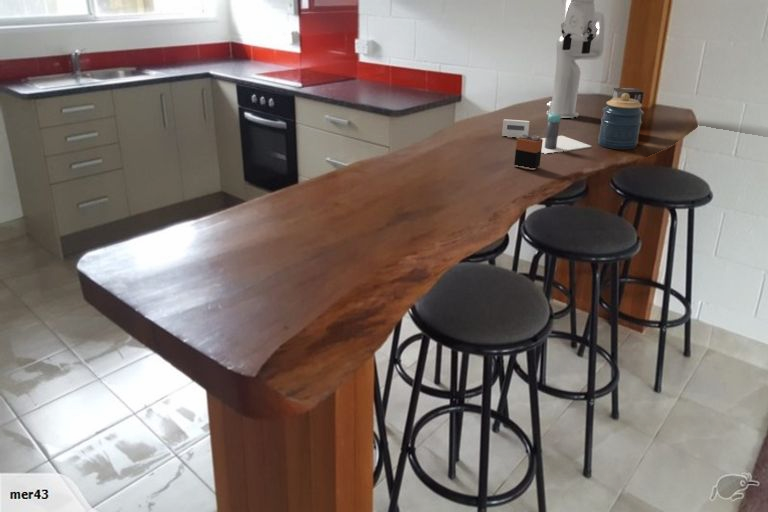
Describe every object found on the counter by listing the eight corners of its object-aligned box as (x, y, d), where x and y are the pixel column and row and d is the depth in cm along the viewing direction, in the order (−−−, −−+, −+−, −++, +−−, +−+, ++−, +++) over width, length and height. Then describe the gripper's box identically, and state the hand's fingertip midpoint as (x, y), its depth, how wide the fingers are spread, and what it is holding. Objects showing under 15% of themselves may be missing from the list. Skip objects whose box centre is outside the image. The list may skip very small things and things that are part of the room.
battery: (534, 171, 184) (538, 139, 180) (513, 167, 188) (516, 135, 183) (539, 167, 188) (543, 135, 183) (519, 163, 191) (522, 132, 187)
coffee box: (631, 132, 226) (639, 87, 219) (636, 137, 220) (644, 91, 213) (606, 131, 227) (613, 87, 220) (610, 136, 221) (618, 90, 214)
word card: (502, 135, 221) (503, 119, 218) (527, 137, 218) (529, 121, 216) (501, 136, 220) (503, 120, 217) (527, 138, 217) (529, 121, 215)
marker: (541, 146, 207) (545, 114, 202) (551, 145, 208) (555, 113, 203) (549, 149, 204) (553, 116, 199) (559, 148, 205) (563, 115, 200)
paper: (516, 143, 212) (516, 141, 212) (561, 136, 220) (562, 135, 220) (544, 154, 200) (545, 153, 200) (591, 147, 208) (591, 146, 208)
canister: (596, 148, 207) (604, 95, 199) (598, 138, 218) (606, 88, 210) (637, 152, 203) (647, 98, 195) (636, 142, 214) (646, 90, 206)
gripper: (557, -3, 212) (550, 49, 220) (592, 0, 198) (584, 55, 206) (573, -3, 215) (567, 47, 223) (610, 0, 201) (601, 54, 209)
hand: (575, 51), depth 214 cm, fingers open, 9 cm apart
